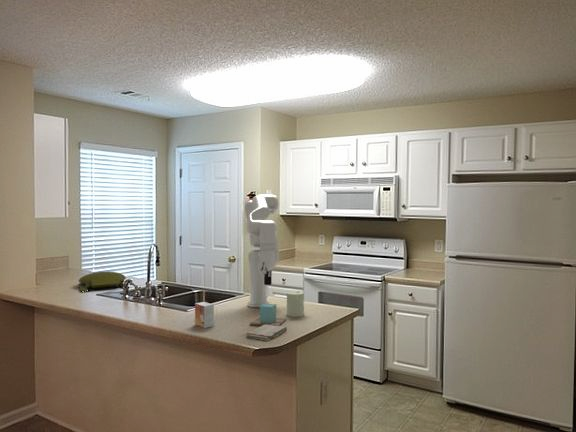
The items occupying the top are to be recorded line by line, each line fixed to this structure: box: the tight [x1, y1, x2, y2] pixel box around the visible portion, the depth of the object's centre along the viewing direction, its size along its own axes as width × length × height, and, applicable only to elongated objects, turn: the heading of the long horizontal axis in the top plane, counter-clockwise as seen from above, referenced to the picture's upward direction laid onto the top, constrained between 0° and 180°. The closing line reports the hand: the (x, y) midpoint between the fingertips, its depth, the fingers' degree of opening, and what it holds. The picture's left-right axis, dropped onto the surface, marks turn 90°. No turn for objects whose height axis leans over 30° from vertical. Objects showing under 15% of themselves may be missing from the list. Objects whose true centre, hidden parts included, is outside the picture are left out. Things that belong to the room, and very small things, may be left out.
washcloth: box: [245, 325, 288, 342], centre depth 204 cm, size 12×18×3 cm, turn 154°
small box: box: [194, 301, 215, 329], centre depth 218 cm, size 8×6×10 cm
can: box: [286, 290, 305, 318], centre depth 238 cm, size 9×9×12 cm
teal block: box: [259, 303, 277, 323], centre depth 222 cm, size 6×6×8 cm
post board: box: [249, 316, 287, 327], centre depth 222 cm, size 13×14×8 cm
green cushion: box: [77, 271, 127, 292], centre depth 318 cm, size 35×31×10 cm
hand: (267, 284), depth 221 cm, fingers closed
